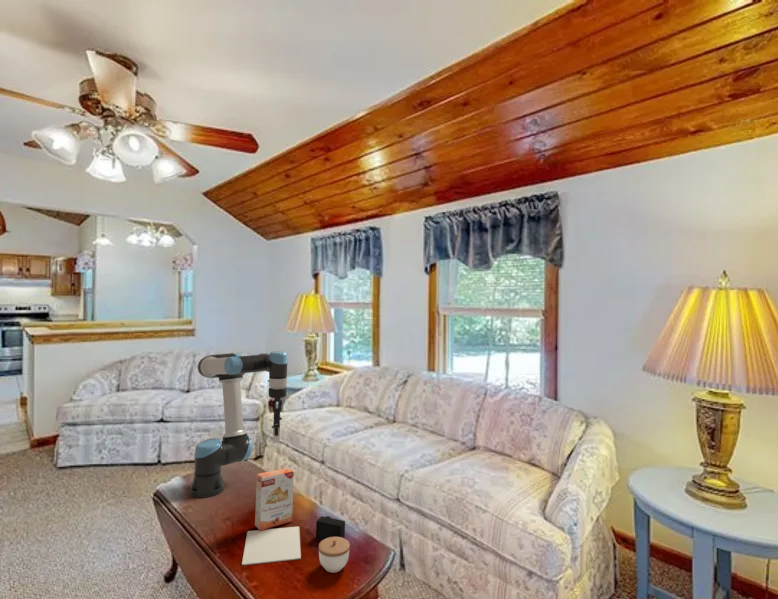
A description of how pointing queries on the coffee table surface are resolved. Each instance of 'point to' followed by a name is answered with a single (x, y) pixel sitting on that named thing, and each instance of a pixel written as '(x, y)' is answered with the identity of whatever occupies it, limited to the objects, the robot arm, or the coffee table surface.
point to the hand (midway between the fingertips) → (276, 438)
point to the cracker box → (274, 498)
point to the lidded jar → (334, 553)
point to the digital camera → (329, 528)
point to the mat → (272, 545)
